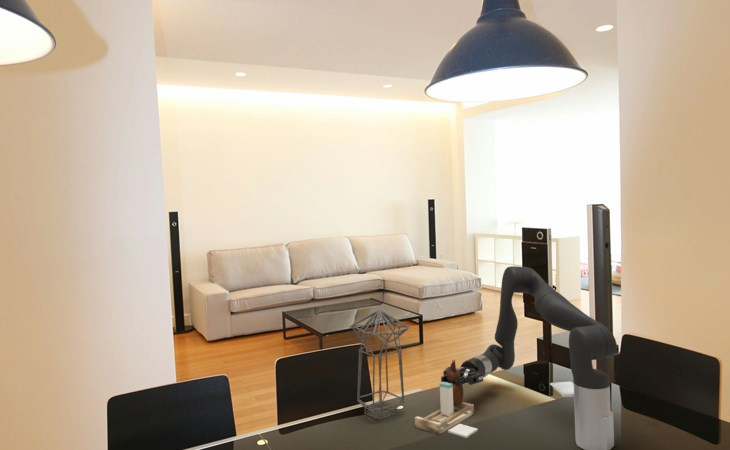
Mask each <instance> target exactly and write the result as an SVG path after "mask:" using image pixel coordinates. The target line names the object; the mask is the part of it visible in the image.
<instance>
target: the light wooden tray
mask: <svg viewBox="0 0 730 450" xmlns="http://www.w3.org/2000/svg"><path fill="white" fill-rule="evenodd" d="M453 407H454V414H453V415H451V416H446V415H443V414H441V408H439V409H438V410H436V411H433V412H432V413H430V414H428V415H426V416H424V417H421V416H419V415H418V416H415V417H414V425H415V428H418V429H420V430H423V431H425V432H428V433H429V432H430V433H432V434H436V435H441V434H443V433H445V432H446V431H448V430H450V429H451V428H453V427H455V426H456V425H458V424H460V423H461V422H462V421H464V420H466V419H467V418H469V417H471V416H473V415H474V414H475V408H474V407H475V404H473V403H469V402H465V401H462V403H461V404H460V405H457V406H453Z"/></svg>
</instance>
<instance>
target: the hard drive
mask: <svg viewBox="0 0 730 450" xmlns="http://www.w3.org/2000/svg"><path fill="white" fill-rule="evenodd" d="M550 385H551V386H552V387H553V388H552V387H551V386H550ZM549 386H550V387H551V388H552V389H553V390H554V391H556V392H557V393H558V394H559V395H561V396H562V397H563V398H574V382H572V381H560V382H558V381H557V382H550V383H549Z"/></svg>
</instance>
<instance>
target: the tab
mask: <svg viewBox="0 0 730 450" xmlns="http://www.w3.org/2000/svg"><path fill="white" fill-rule="evenodd" d="M439 399H440V402H439V403H440V409H441V414H443V415H446V416H451V415H453V414H454V407H453V384H451V383H447V382H441V381H440V383H439Z"/></svg>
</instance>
